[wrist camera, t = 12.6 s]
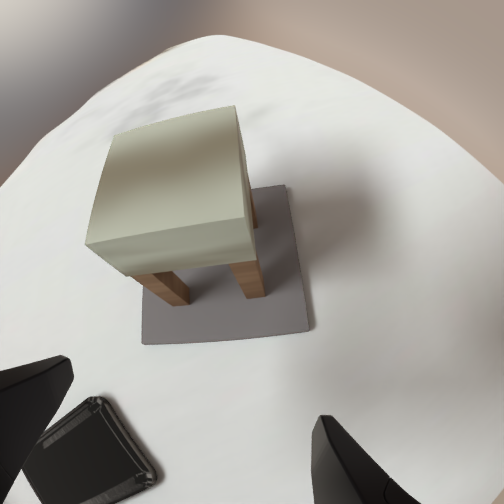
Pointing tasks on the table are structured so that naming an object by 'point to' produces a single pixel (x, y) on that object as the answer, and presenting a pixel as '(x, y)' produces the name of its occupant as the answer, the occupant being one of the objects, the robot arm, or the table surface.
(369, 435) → the table surface
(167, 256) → the stool
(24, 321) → the table surface
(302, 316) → the mat
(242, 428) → the table surface
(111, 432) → the phone
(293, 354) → the table surface
